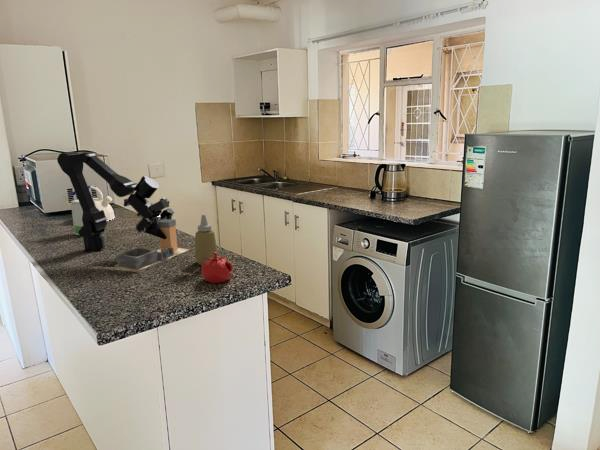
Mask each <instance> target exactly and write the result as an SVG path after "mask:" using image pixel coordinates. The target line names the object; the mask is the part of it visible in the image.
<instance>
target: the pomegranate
mask: <svg viewBox="0 0 600 450" xmlns="http://www.w3.org/2000/svg"><path fill="white" fill-rule="evenodd" d="M213 256H214V258H213V259H212V258H205V259H210V260H209V261H206V262H205V263H204V264H203V265H202V267H201V270H200V271H201V272H200V273H201V276H202V278H203V280H205V281H206V282H208V283H210V284H220V283H221V282H222V283H224V282H227V281H229V280H230V279H231V278H232V274H233V270H234V269H233V268H234V267H233V265H232V263H231V262H230V261H229V260H228V258H226V257H227V255H221V256H218V257H217V252H214V255H213Z"/></svg>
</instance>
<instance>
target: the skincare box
mask: <svg viewBox="0 0 600 450" xmlns="http://www.w3.org/2000/svg"><path fill="white" fill-rule="evenodd" d="M93 201H94V204H95V200H93ZM70 204H71V205H70V206H71V215H72V224H73V232H74V233H73V234H74V235H76V236H77V235H79V233H78V232H79V230H80V229H81V228H82V226H83V222H82V216H83V210H82V208H81V205H80V203H79V200H78V199H75V200H70ZM79 236H80V235H79Z"/></svg>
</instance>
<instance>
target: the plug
mask: <svg viewBox="0 0 600 450" xmlns="http://www.w3.org/2000/svg"><path fill="white" fill-rule="evenodd" d="M157 224H158V227H159V228H160V229H161V230H162V232H163V233H164V234H165V235H166V237H167V238H166V239H162V238H160V237H159V246H160V248H161V251H162V250H163V249H168V247H173V251H174V252H175V251H177V250H178V248H179V247H178V239H177V238H178V236H177V233H176V231H177V227H176V226H177V222H176V219H163V220H161V221H158V222H157Z"/></svg>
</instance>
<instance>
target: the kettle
mask: <svg viewBox="0 0 600 450" xmlns="http://www.w3.org/2000/svg"><path fill="white" fill-rule="evenodd" d="M87 186H88V188H89V189H93V190H94V191H96V192H97V193H98V197H92V198H93V200H95V206H96V208H97V209H98V210H99V211H101V210H103V211H104V213H105V216H106V218H107V220H106V221H108V222H110V221H109V220H111V221H113V220H115V219H116V216H115V212H114V209H113V207H112V206H111V204H110V203H111V202H112V201H113V198H112V197H111V196H109V195H106V197H105V198H104V195H103V193H102V190H100V188H98V187H96V186H94V185H87ZM70 195H71V196H76V193H75V190H74V191H72V193H70ZM114 218H115V219H114ZM112 219H113V220H112Z"/></svg>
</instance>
